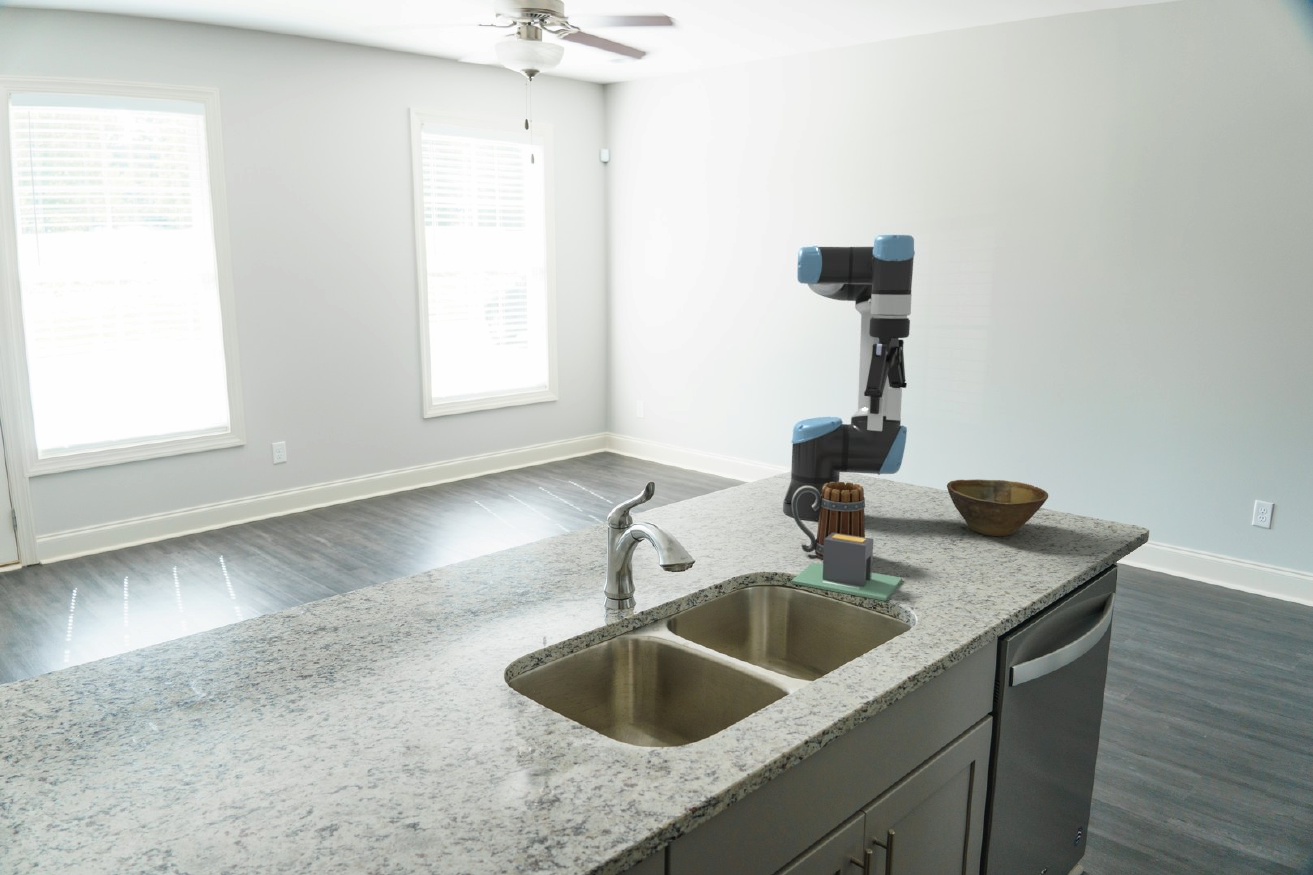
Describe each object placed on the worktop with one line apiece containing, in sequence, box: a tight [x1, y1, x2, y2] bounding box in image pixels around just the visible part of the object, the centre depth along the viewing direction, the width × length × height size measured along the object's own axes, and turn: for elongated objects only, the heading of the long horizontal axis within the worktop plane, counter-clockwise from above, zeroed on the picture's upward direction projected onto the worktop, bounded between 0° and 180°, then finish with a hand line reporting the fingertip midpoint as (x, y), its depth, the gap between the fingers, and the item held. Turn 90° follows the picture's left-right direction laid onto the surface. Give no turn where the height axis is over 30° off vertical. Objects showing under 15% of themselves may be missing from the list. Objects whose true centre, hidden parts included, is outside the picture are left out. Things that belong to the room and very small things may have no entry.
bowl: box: [946, 479, 1049, 537], centre depth 202 cm, size 22×23×10 cm
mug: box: [792, 481, 866, 560], centre depth 184 cm, size 16×11×15 cm
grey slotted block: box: [822, 533, 874, 587], centre depth 169 cm, size 5×8×8 cm, turn 60°
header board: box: [790, 562, 903, 602], centre depth 169 cm, size 12×18×5 cm, turn 61°
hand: (884, 425), depth 175 cm, fingers open, 13 cm apart
